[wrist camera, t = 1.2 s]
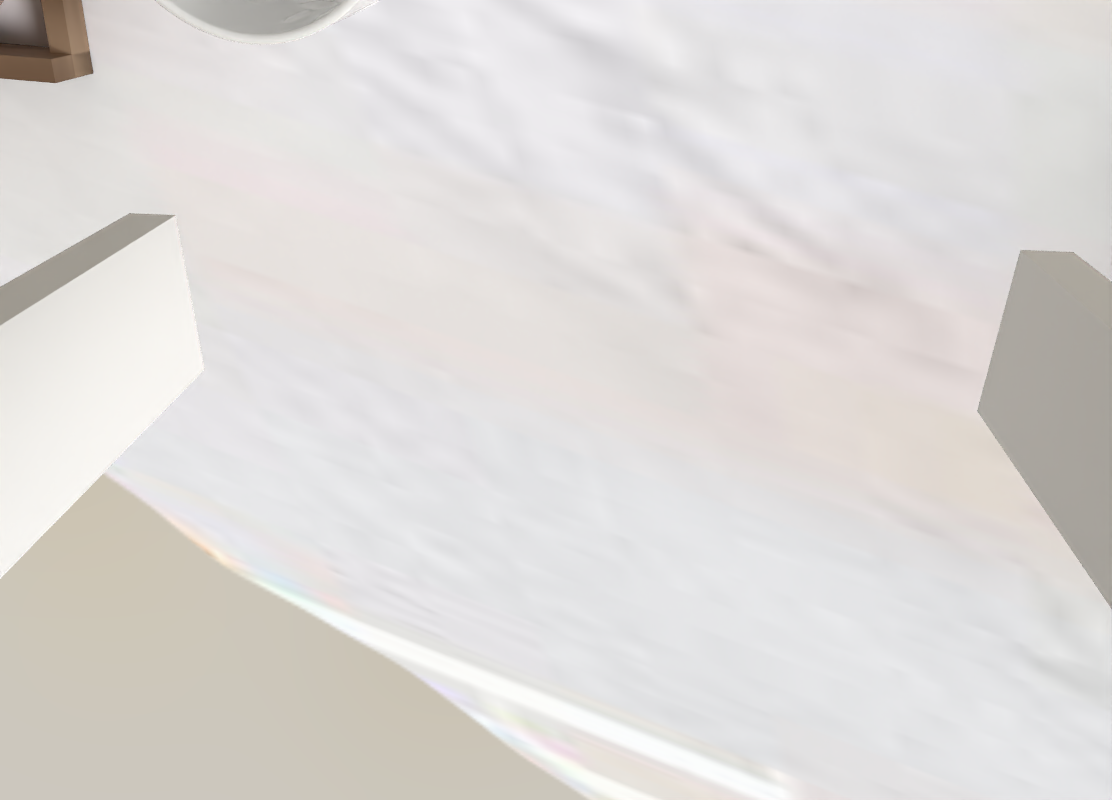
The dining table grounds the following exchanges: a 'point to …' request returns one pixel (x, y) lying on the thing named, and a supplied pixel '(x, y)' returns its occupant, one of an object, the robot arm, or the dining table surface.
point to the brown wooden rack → (52, 47)
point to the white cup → (263, 17)
